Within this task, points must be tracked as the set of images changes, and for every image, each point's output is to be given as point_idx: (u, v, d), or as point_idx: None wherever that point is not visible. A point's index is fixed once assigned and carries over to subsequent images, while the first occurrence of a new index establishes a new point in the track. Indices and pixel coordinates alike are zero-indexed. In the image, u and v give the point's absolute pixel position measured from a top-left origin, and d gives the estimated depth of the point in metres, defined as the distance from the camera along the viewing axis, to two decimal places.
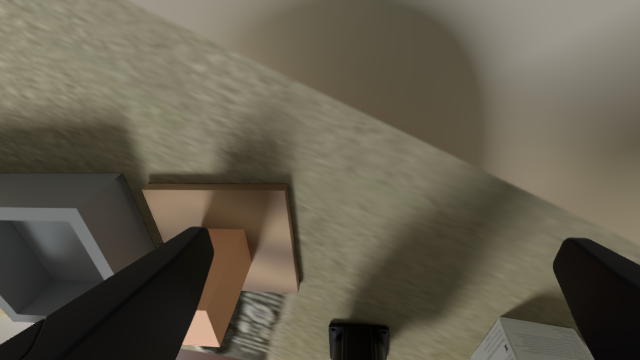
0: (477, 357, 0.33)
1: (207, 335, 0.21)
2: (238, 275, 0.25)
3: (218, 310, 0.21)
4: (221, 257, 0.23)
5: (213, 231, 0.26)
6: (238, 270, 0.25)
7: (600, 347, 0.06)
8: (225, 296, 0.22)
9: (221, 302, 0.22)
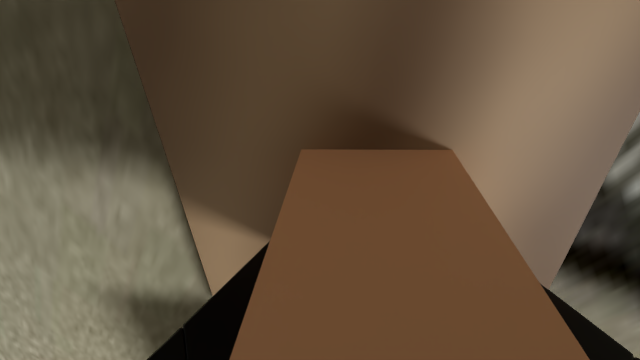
0: None
1: None
2: (408, 218, 0.06)
3: None
4: None
5: None
6: (387, 210, 0.06)
7: None
8: (385, 359, 0.03)
9: None
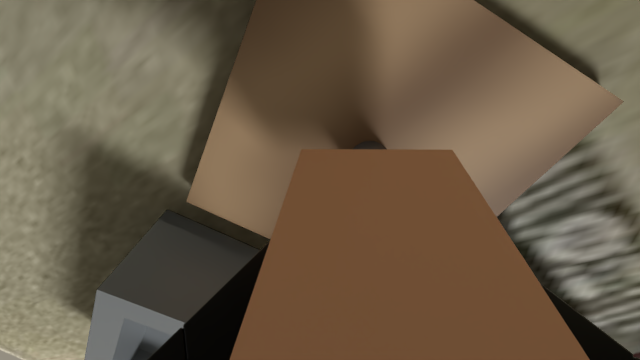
0: None
1: None
2: (407, 217, 0.06)
3: None
4: None
5: None
6: (387, 210, 0.06)
7: None
8: (385, 358, 0.03)
9: None
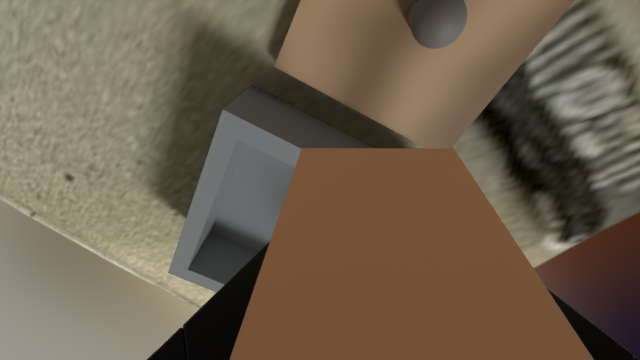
0: None
1: None
2: (409, 216, 0.06)
3: None
4: None
5: None
6: (388, 209, 0.06)
7: None
8: (386, 357, 0.03)
9: None
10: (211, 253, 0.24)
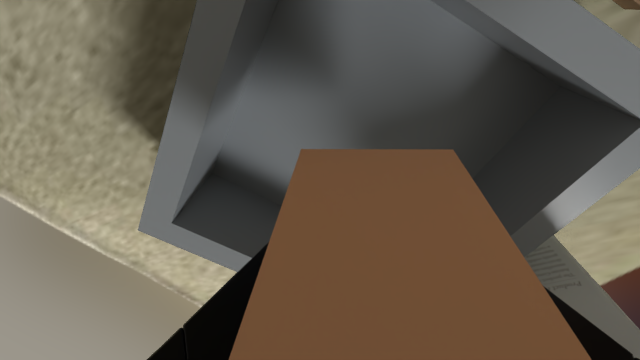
0: None
1: None
2: (408, 218, 0.06)
3: None
4: None
5: None
6: (387, 210, 0.06)
7: None
8: None
9: None
10: (212, 203, 0.14)
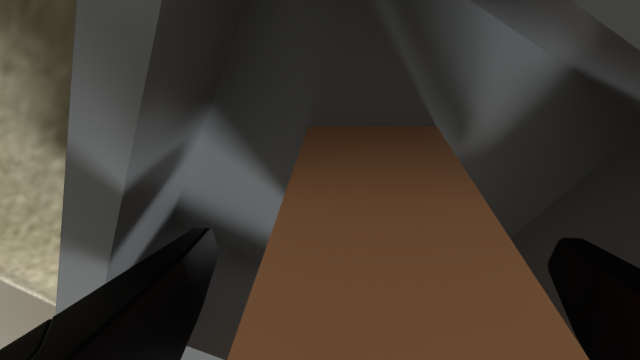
0: None
1: None
2: (395, 172, 0.07)
3: (371, 320, 0.04)
4: None
5: None
6: (379, 167, 0.07)
7: (593, 346, 0.06)
8: (375, 251, 0.05)
9: (362, 283, 0.04)
10: None
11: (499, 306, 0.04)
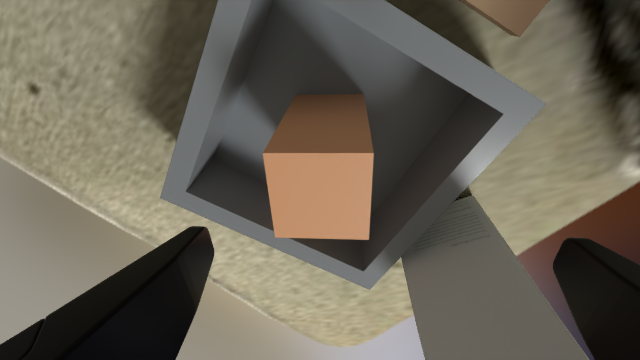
0: None
1: (337, 167, 0.11)
2: (334, 109, 0.15)
3: (311, 139, 0.12)
4: None
5: None
6: (327, 108, 0.15)
7: (600, 347, 0.06)
8: (317, 128, 0.13)
9: (310, 134, 0.12)
10: (215, 179, 0.19)
11: (353, 136, 0.12)
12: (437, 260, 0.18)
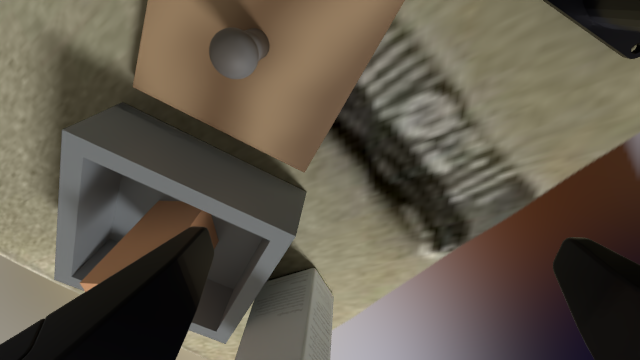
0: None
1: None
2: (168, 225, 0.21)
3: (121, 267, 0.18)
4: None
5: None
6: (164, 223, 0.21)
7: (600, 347, 0.06)
8: (136, 252, 0.19)
9: (126, 260, 0.18)
10: None
11: None
12: (263, 327, 0.23)
